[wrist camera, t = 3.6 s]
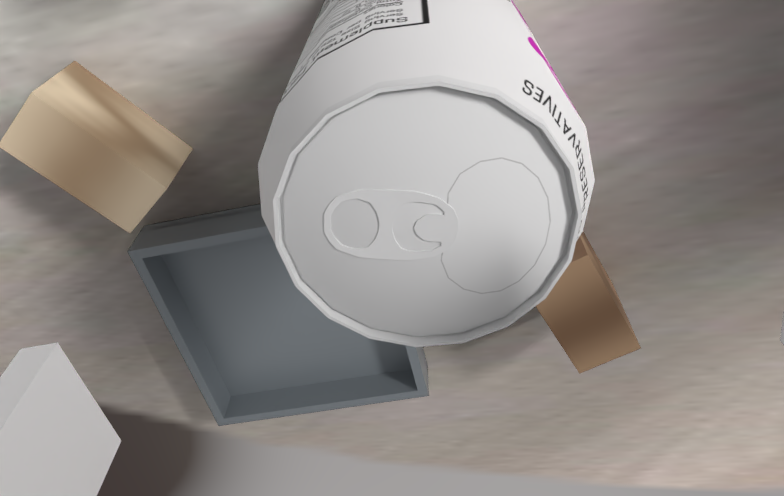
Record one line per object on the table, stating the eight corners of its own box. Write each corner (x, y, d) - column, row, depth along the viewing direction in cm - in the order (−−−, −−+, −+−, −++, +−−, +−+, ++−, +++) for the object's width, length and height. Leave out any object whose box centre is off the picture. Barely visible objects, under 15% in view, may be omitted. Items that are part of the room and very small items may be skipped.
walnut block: (507, 225, 32) (522, 285, 28) (563, 196, 32) (587, 254, 27) (558, 307, 35) (579, 373, 31) (612, 283, 34) (640, 348, 30)
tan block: (43, 108, 30) (-3, 145, 26) (75, 59, 28) (31, 92, 25) (159, 189, 32) (129, 233, 28) (193, 147, 31) (167, 188, 27)
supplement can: (530, -61, 25) (650, 60, 13) (501, 138, 30) (569, 372, 17) (318, -72, 25) (231, 39, 13) (321, 129, 30) (259, 357, 17)
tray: (144, 225, 33) (127, 251, 31) (379, 181, 31) (377, 205, 29) (228, 395, 39) (218, 425, 37) (427, 366, 38) (428, 395, 36)
